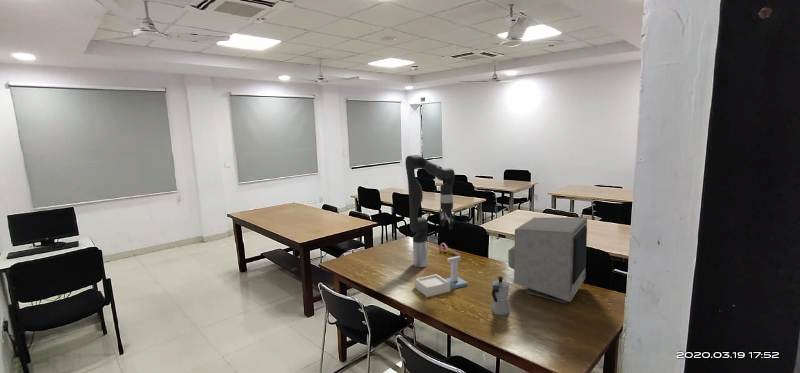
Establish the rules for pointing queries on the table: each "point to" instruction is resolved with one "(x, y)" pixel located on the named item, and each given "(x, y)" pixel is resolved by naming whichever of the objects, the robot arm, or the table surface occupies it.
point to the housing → (432, 285)
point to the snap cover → (455, 274)
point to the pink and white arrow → (449, 249)
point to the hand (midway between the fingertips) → (447, 227)
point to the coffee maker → (500, 297)
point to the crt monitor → (550, 257)
